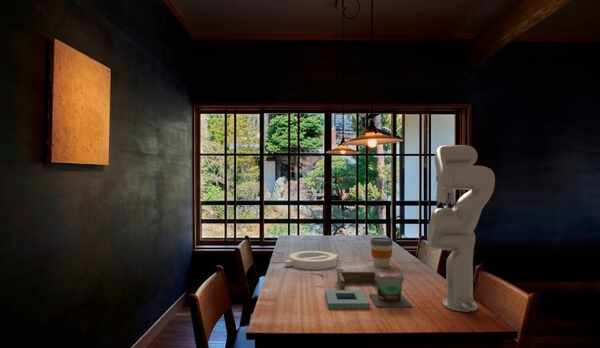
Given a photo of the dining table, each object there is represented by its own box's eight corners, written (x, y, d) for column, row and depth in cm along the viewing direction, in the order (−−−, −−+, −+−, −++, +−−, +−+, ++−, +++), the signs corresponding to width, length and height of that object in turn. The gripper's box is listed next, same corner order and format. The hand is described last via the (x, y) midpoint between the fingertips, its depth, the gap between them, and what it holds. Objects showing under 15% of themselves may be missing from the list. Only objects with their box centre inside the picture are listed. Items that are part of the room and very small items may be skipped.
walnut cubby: (384, 292, 154) (384, 281, 154) (341, 292, 154) (341, 281, 154) (376, 281, 170) (376, 271, 170) (337, 281, 170) (337, 271, 170)
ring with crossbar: (340, 260, 216) (340, 252, 216) (331, 271, 189) (331, 262, 190) (297, 257, 224) (297, 249, 224) (283, 267, 197) (283, 259, 197)
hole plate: (369, 308, 135) (369, 303, 135) (328, 308, 135) (328, 303, 135) (361, 294, 151) (361, 290, 151) (325, 294, 151) (325, 290, 151)
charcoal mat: (412, 307, 136) (412, 305, 136) (376, 307, 136) (376, 305, 136) (401, 295, 150) (401, 293, 150) (369, 295, 150) (369, 294, 150)
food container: (381, 304, 138) (381, 279, 138) (374, 299, 144) (374, 275, 144) (409, 302, 140) (409, 277, 140) (402, 297, 146) (402, 273, 146)
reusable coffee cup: (368, 262, 208) (368, 237, 208) (388, 262, 209) (388, 237, 209) (374, 268, 196) (373, 241, 196) (395, 267, 196) (395, 241, 197)
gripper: (461, 178, 154) (461, 217, 154) (444, 178, 172) (444, 213, 172) (444, 178, 154) (444, 217, 154) (429, 178, 172) (429, 213, 171)
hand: (444, 215), depth 163 cm, fingers open, 9 cm apart
